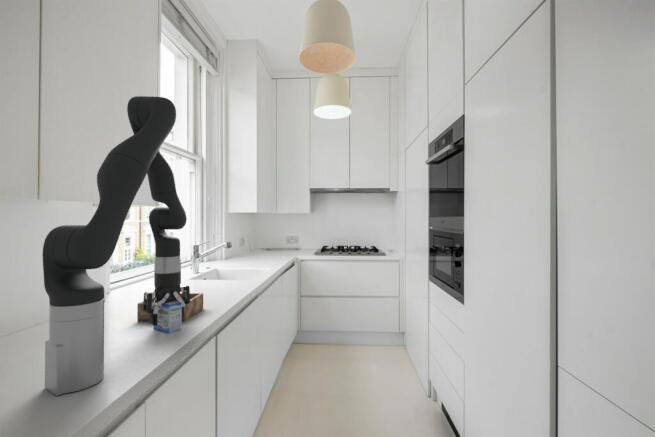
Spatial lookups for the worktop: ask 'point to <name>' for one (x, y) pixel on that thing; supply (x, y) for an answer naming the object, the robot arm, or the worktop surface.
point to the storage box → (189, 309)
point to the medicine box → (169, 317)
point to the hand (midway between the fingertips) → (167, 321)
